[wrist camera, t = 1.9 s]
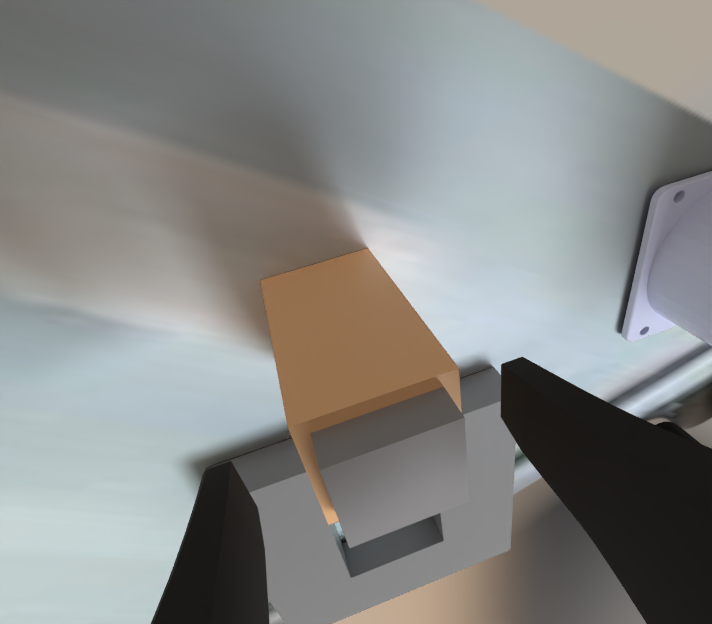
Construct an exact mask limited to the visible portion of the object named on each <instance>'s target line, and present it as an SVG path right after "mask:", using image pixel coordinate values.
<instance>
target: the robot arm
mask: <svg viewBox="0 0 712 624" xmlns="http://www.w3.org/2000/svg"><path fill="white" fill-rule="evenodd" d="M677 325H678V326H679V327H681V328H683V329H684V330H686V331H688V332H689V333H691V334H693V335H694V336H696V337H698V338H699V339H701V340H703V341H704V342H706V343H708V344H709V345H711V346H712V171H710V172H707V173H704V174H700V175H697V176H694V177H691V178H687V179H684V180H681V181H678V182H674V183H671V184H668V185H665V186H663V187H661V188H659V189H658V190H657V191H656V192H655V193H654V195H653V196H652V199H651V202H650V207H649V211H648V216H647V221H646V225H645V230H644V234H643V239H642V243H641V248H640V252H639V257H638V261H637V266H636V270H635V275H634V279H633V284H632V288H631V293H630V297H629V302H628V307H627V311H626V316H625V320H624V325H623V329H622V337H623V338H624V339H625V340H627V341H629V342H631V341H635V340H638V339H641V338H644V337H646V336H649V335H652V334H655V333H658V332H660V331H663V330H666V329H669V328H671V327H674V326H677ZM501 418H502V420H503V421H504V423H505V425H506V426H507V428H508V430H509V431H510V433H511V435H512V436H513V438H514V439H515V441H516V443H517V444H518V446H519V447H520V449H521V450H522V452H523V453H524V454H525V456H526V457H527V458H528V459H529V461H530V462H531V463H532V464H533V466H534V467H535V468H536V469H537V471H538V472H539V473H540V475H541V476H542V477H543V478H544V480H545V481H546V482H547V483H548V485H549V486H550V487H551V488H552V489H553V491H554V492H555V493H556V494H557V496H558V497H559V498H560V499H561V501H562V502H563V503H564V504H565V506H566V507H567V508H568V509H569V511H570V512H571V513H572V514H573V516H574V517H575V518H576V519H577V521H578V522H579V523H580V524H581V526H582V527H583V528H584V530H585V531H586V532H587V534H588V535H589V536H590V538H591V539H592V541H593V542H594V543H595V545H596V546H597V548H598V549H599V551H600V552H601V554H602V555H603V557H604V558H605V560H606V561H607V563H608V564H609V566H610V567H611V569H612V570H613V572H614V573H615V575H616V576H617V578H618V579H619V581H620V582H621V584H622V586H623V587H624V588H625V590H626V592H627V593H628V595H629V596H630V598H631V600H632V601H633V603H634V604H635V606H636V607H637V609H638V611H639V612H640V614H641V615H642V617H643V618H644V620H645V621H646V623H647V624H712V449H711V448H709V447H706V446H704V445H701V444H699V443H696V442H694V441H691V440H689V439H686V438H684V437H681V436H679V435H676V434H674V433H672V432H669V431H667V430H665V429H662V428H660V427H658V426H656V425H653V424H651V423H649V422H647V421H645V420H643V419H640V418H638V417H636V416H634V415H632V414H630V413H628V412H626V411H624V410H621V409H619V408H617V407H615V406H613V405H611V404H609V403H607V402H605V401H603V400H602V399H600V398H598V397H596V396H594V395H592V394H590V393H588V392H586V391H584V390H582V389H580V388H579V387H577V386H575V385H573V384H571V383H569V382H567V381H566V380H564V379H562V378H560V377H558V376H556V375H555V374H553V373H551V372H549V371H547V370H546V369H544V368H542V367H540V366H538V365H537V364H535V363H533V362H531V361H529V360H527V359H525V358H524V357H520V358H517V359H515V360H512V361H509V362H506V363H503V364H501ZM151 624H269V610H268V592H267V574H266V558H265V547H264V541H263V534H262V528H261V523H260V517H259V511H258V507H257V505H256V503H255V502H254V500H253V498H252V496H251V495H250V493H249V491H248V489H247V488H246V486H245V484H244V482H243V481H242V479H241V477H240V475H239V474H238V472H237V470H236V468H235V467H234V465H233V463H232V462H231V461H229V462H226V463H223V464H220V465H217V466H215V467H212V468H209V469H206V470H205V472H204V473H203V476H202V480H201V483H200V487H199V490H198V494H197V497H196V501H195V504H194V507H193V510H192V514H191V517H190V520H189V523H188V526H187V529H186V532H185V535H184V538H183V541H182V544H181V546H180V549H179V552H178V555H177V558H176V561H175V563H174V566H173V569H172V572H171V575H170V577H169V580H168V582H167V585H166V587H165V590H164V592H163V595H162V597H161V600H160V602H159V605H158V607H157V610H156V612H155V615H154V617H153V620H152V622H151Z"/></svg>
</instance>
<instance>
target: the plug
mask: <svg viewBox="0 0 712 624" xmlns="http://www.w3.org/2000/svg"><path fill="white" fill-rule="evenodd" d="M260 283H261V288H262V294H263V299H264V304H265V310H266V315H267V320H268V325H269V331H270V336H271V341H272V347H273V352H274V357H275V362H276V368H277V373H278V378H279V384H280V389H281V394H282V399H283V405H284V410H285V415H286V421H287V426H288V429H289V432H290V434H291V436H292V439H293V441H294V444H295V446H296V448H297V451H298V453H299V456H300V458H301V460H302V463H303V465H304V468H305V470H306V472H307V475H308V477H309V479H310V482H311V484H312V487H313V489H314V491H315V494H316V496H317V499H318V501H319V503H320V506H321V508H322V511H323V513H324V515H325V518H326V520H327V523H328V525H330V524H333V523H335V522H338V521H339V522H340V525H341V528H342V530H343V533H344V535H345V538H346V541H347V543H348V546H349V548H352V547H354V546H357V545H359V544H362V543H365V542H367V541H370V540H372V539H375V538H377V537H380V536H382V535H385V534H388V533H390V532H393V531H395V530H398V529H400V528H403V527H405V526H408V525H411V524H413V523H416V522H418V521H421V520H423V519H426V518H428V517H431V516H434V515H436V514H439V513H441V512H444V511H446V510H449V509H452V508H454V507H457V506H459V505H462V504H464V503H467V502H469V488H468V469H467V451H466V432H465V417H464V416H463V414H462V410H461V394H460V377H459V368H458V366H457V365H456V364H455V362H454V361H453V360H452V358H451V357H450V356H449V354H448V353H447V352H446V350H445V349H444V348H443V347H442V345H441V344H440V343H439V341H438V340H437V339H436V337H435V336H434V335H433V333H432V332H431V331H430V329H429V328H428V327H427V325H426V324H425V323H424V321H423V320H422V319H421V317H420V316H419V315H418V313H417V312H416V311H415V310H414V308H413V307H412V306H411V304H410V303H409V302H408V300H407V299H406V298H405V296H404V295H403V294H402V292H401V291H400V290H399V288H398V287H397V286H396V284H395V283H394V282H393V280H392V279H391V278H390V276H389V275H388V274H387V273H386V271H385V270H384V269H383V267H382V266H381V265H380V263H379V262H378V261H377V259H376V258H375V257H374V255H373V254H372V253H371V251H370V250H369V249H368V248H366V249H363V250H360V251H356V252H353V253H350V254H346V255H343V256H340V257H336V258H333V259H330V260H326V261H323V262H320V263H316V264H313V265H309V266H306V267H303V268H299V269H296V270H293V271H289V272H286V273H283V274H279V275H276V276H273V277H269V278H266V279H263V280H260Z"/></svg>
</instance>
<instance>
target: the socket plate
mask: <svg viewBox="0 0 712 624" xmlns="http://www.w3.org/2000/svg"><path fill="white" fill-rule="evenodd" d="M460 394H461V410H462V414H463V416H464V417H465V432H466V451H467V469H468V488H469V502H467V503H464V504H462V505H459V506H457V507H454V508H452V509H449V510H446V511H444V512H441V513H439V514H436V515H434V516H431V517H428V518H426V519H423V520H421V521H418V522H416V523H413V524H411V525H408V526H405V527H403V528H400V529H398V530H395V531H393V532H390V533H388V534H385V535H382V536H380V537H377V538H375V539H372V540H370V541H367V542H365V543H362V544H359V545H357V546H354V547H352V548H349V546H348V543H347V541H346V542H343V543H342V542H341V539H340V537H339V535H338V532H337V530H336V527H335V525H334V523H333V524H330V525H328V523H327V520H326V518H325V515H324V513H323V511H322V508H321V506H320V503H319V501H318V499H317V496H316V494H315V491H314V489H313V487H312V484H311V482H310V479H309V477H308V475H307V472H306V470H305V468H304V465H303V463H302V460H301V458H300V456H299V453H298V451H297V448H296V446H295V444H294V441H293V439H292V438H291V439H288V440H285V441H282V442H279V443H276V444H273V445H271V446H268V447H265V448H262V449H259V450H256V451H254V452H251V453H248V454H245V455H242V456H239V457H237V458H234V459H231V460H228V461H225V462H222V463H219V464H217V465H220V464H223V463H226V462H229V461H231V462H232V463H233V465H234V467H235V468H236V470H237V472H238V474H239V475H240V477H241V479H242V481H243V482H244V484H245V486H246V488H247V489H248V491H249V493H250V495H251V496H252V498H253V500H254V502H255V503H256V505H257V507H258V511H259V517H260V523H261V528H262V534H263V541H264V547H265V558H266V574H267V592H268V599H269V601H270V602H271V604H272V605H273V606H274V608H275V609H276V611H277V612H278V613H279V615H280V616H281V618H282V619H283V621H284V622H285V623H286V624H332V623H334V622H336V621H339V620H342V619H344V618H346V617H349V616H351V615H354V614H356V613H359V612H361V611H363V610H366V609H368V608H371V607H373V606H375V605H378V604H380V603H382V602H385V601H388V600H390V599H392V598H395V597H397V596H400V595H402V594H404V593H407V592H409V591H411V590H414V589H416V588H419V587H421V586H424V585H426V584H428V583H431V582H433V581H435V580H438V579H441V578H443V577H445V576H448V575H450V574H453V573H455V572H457V571H460V570H462V569H465V568H467V567H469V566H472V565H474V564H477V563H479V562H482V561H484V560H486V559H489V558H491V557H494V556H496V555H498V554H501V553H503V552H506V551H508V550H510V545H511V525H512V503H513V484H514V463H515V443H516V441H515V439H514V438H513V436H512V435H511V433H510V431H509V430H508V428H507V426H506V425H505V423H504V421H503V420H502V418H501V375H500V374H499V373H498V372H497V370H496V369H495V368H494V367H492V368H489V369H487V370H484V371H481V372H478V373H475V374H472V375H470V376H467V377H464V378H461V379H460ZM217 465H214V466H211V467H208V468H206V469H209V468H212V467H215V466H217ZM338 522H339V521H338ZM335 523H336V522H335Z"/></svg>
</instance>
